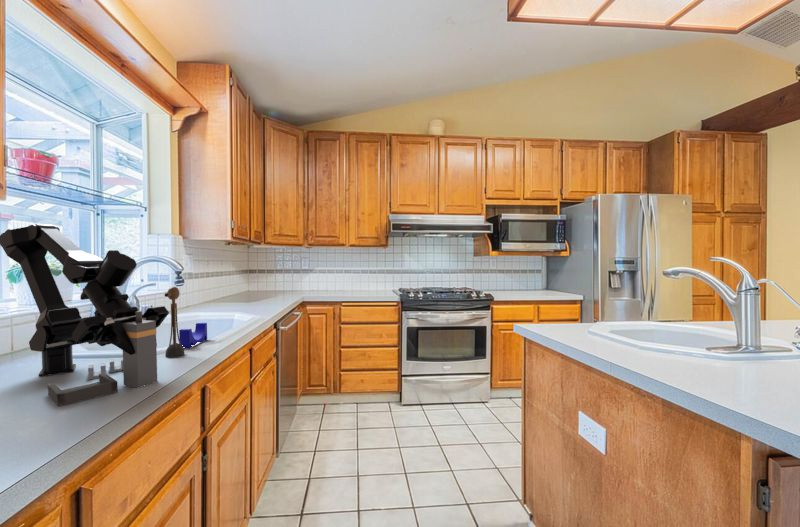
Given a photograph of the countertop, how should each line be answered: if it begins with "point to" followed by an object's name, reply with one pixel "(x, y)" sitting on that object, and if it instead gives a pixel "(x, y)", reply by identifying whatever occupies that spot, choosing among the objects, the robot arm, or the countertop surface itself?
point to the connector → (140, 353)
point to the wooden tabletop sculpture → (174, 326)
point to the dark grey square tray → (83, 391)
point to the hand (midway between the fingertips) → (144, 350)
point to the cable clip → (193, 335)
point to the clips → (104, 369)
